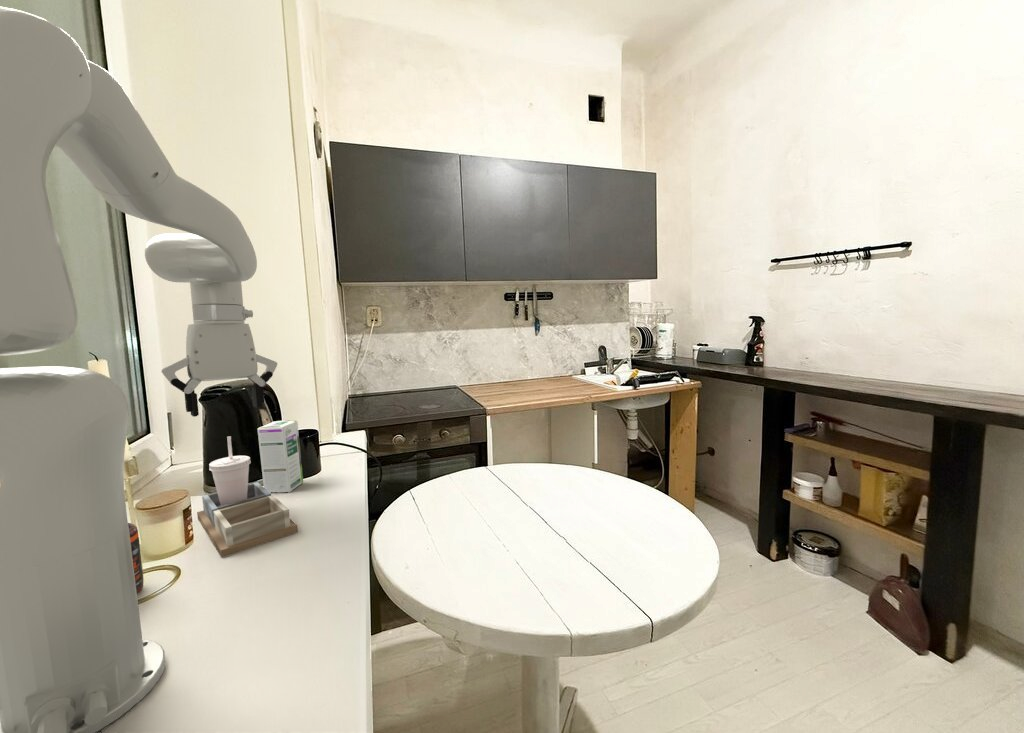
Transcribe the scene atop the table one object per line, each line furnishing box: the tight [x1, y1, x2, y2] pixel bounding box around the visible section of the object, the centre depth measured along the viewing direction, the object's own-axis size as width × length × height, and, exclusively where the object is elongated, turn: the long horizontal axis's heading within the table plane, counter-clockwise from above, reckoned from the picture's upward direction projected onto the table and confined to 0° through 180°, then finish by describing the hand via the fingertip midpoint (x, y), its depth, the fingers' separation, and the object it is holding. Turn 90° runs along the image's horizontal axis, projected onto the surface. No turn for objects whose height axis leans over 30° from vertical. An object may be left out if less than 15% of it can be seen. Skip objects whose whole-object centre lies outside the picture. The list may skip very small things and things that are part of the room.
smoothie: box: [208, 435, 252, 506], centre depth 78 cm, size 6×6×14 cm
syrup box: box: [257, 419, 304, 493], centre depth 93 cm, size 6×6×14 cm
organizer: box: [196, 481, 299, 559], centre depth 76 cm, size 20×11×4 cm, turn 45°
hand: (227, 411), depth 77 cm, fingers open, 9 cm apart
